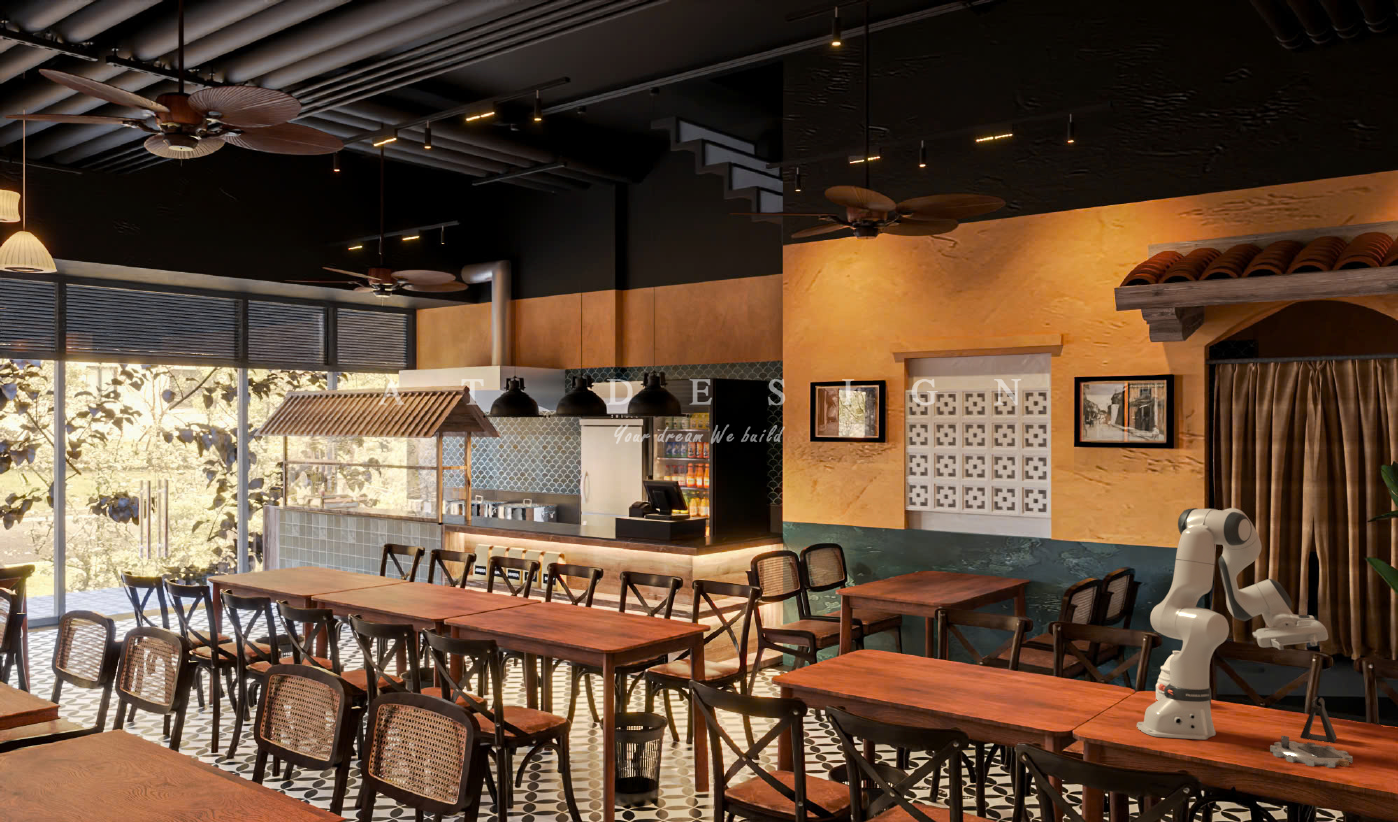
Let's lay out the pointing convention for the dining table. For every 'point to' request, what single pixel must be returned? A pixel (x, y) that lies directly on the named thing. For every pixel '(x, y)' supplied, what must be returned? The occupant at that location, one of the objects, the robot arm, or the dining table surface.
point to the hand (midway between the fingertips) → (1297, 645)
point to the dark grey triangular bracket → (1325, 721)
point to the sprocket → (1310, 753)
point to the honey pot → (1164, 676)
